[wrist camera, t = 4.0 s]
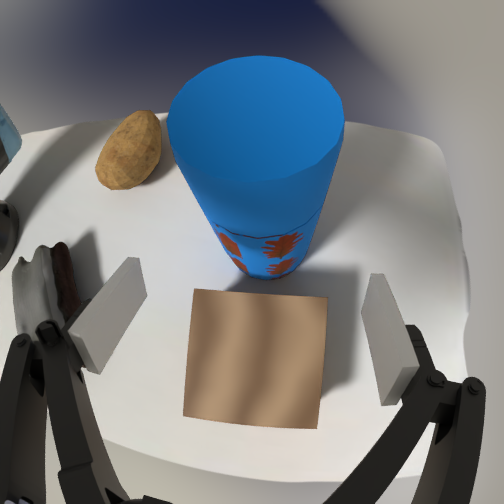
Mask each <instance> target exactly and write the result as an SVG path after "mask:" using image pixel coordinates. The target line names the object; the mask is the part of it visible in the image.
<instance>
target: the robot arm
mask: <svg viewBox="0 0 504 504" xmlns="http://www.w3.org/2000/svg"><path fill="white" fill-rule="evenodd" d="M21 145H22V138H21V136H20V134H19V132H18V130H17V129H16V127H15V125H14V124H13V122H12V121H11V119H10V117H9V116H8V114H7V113H6V111H5V110H4V108H3V107H2V106H1V104H0V174H1V173H2V172H3V170H4V169H5V168H6V167H7V166H8V164H9V163H11V161H12V159H13V157H14V156H15V155H16V154H17V152H18V151H19V150H20V148H21ZM18 226H19V221H18V214H17V211H16V209H15V208H14V207H13V206H12V205H10V204H9V203H7V202H5V201H2V200H0V270H2V268H3V267H4V266H5V265H6V263H7V262H8V260H9V258H10V256H11V254H12V252H13V249H14V247H15V243H16V240H17V235H18ZM146 297H147V293H146V288H145V284H144V279H143V274H142V270H141V265H140V260H139V258H134V257H128V258H127V259H126V260H125V261H124V262H123V263H122V265H121V266H120V267H119V268H118V269H117V270H116V272H115V273H114V274H113V275H112V276H111V278H110V279H109V280H108V281H107V282H106V284H105V285H104V286H103V287H102V288H101V290H100V291H99V292H98V293H97V294H96V296H95V297H94V298H93V299H88V300H86V301H85V302H83V303H82V304H81V305H80V306H79V307H78V309H77V311H75V312H74V314H73V316H71V317H70V319H69V320H68V321H67V322H66V324H65V325H64V326H63V328H62V329H60V327H59V325H58V323H57V321H55V320H52V319H49V320H45V321H43V322H41V323H40V324H39V325H38V326H37V327H36V329H35V333H36V335H37V337H38V339H39V341H33V340H32V339H31V337H30V335H29V334H27V333H22V334H19V335H17V336H16V337H15V338H14V339H13V340H12V342H11V345H10V348H9V352H8V355H7V358H6V362H5V366H4V369H3V373H2V377H1V381H0V504H46V484H45V437H46V419H47V407H48V409H49V415H50V421H51V426H52V431H53V435H54V440H55V445H56V449H57V453H58V457H59V461H60V465H61V470H60V471H59V472H58V479H59V483H60V486H61V489H62V493H63V495H64V499H65V502H66V504H172V503H170V502H167V501H163V500H159V499H156V498H153V497H149V496H146V495H144V496H143V499H132V500H130V498H129V496H128V495H127V493H126V492H125V490H124V489H123V488H122V486H121V484H120V483H119V480H118V478H117V476H116V474H115V471H114V469H113V466H112V464H111V461H110V459H109V456H108V454H107V451H106V449H105V446H104V443H103V440H102V437H101V434H100V431H99V428H98V425H97V422H96V419H95V416H94V412H93V409H92V406H91V402H90V399H89V395H88V391H87V388H86V384H85V380H84V376H83V372H82V370H81V367H82V366H83V364H84V365H85V367H86V368H87V370H88V371H89V372H93V373H96V374H99V375H100V374H101V372H102V370H103V369H104V367H105V365H106V363H107V362H108V360H109V358H110V356H111V355H112V353H113V351H114V349H115V348H116V346H117V344H118V343H119V341H120V339H121V338H122V336H123V334H124V333H125V331H126V329H127V328H128V326H129V324H130V323H131V321H132V319H133V318H134V316H135V315H136V313H137V311H138V310H139V308H140V307H141V305H142V303H143V302H144V300H145V299H146ZM361 314H362V318H363V322H364V327H365V331H366V335H367V339H368V343H369V348H370V352H371V357H372V361H373V366H374V371H375V376H376V381H377V386H378V391H379V396H380V402H381V406H388V405H397V403H398V402H399V400H400V399H402V403H403V405H402V407H401V408H400V410H399V411H398V413H397V414H396V416H395V417H394V419H393V420H392V422H391V423H390V424H389V426H388V427H387V429H386V430H385V431H384V433H383V434H382V435H381V437H380V438H379V439H378V441H377V442H376V443H375V445H374V446H373V447H372V449H371V450H370V451H369V452H368V454H367V455H366V456H365V457H364V459H363V460H362V461H361V462H360V463H359V465H358V466H357V467H356V468H355V469H354V470H353V472H352V473H351V474H350V475H349V476H348V477H347V478H346V479H345V481H344V482H343V483H342V484H341V485H340V486H339V487H338V488H337V489H336V490H335V492H333V493H332V495H331V496H330V497H329V498H328V499H327V500H326V501H325V502H324V503H323V504H375V502H376V501H377V500H378V499H379V498H380V496H381V495H382V494H383V492H384V491H385V490H386V489H387V487H388V486H389V485H390V483H391V482H392V480H393V479H394V478H395V476H396V475H397V473H398V472H399V470H400V469H401V468H402V466H403V465H404V463H405V462H406V460H407V459H408V457H409V455H410V454H411V452H412V451H413V449H414V447H415V446H416V444H417V443H418V441H419V439H420V437H421V436H422V434H423V432H424V431H425V429H426V427H427V425H428V423H429V422H432V423H436V425H435V429H434V433H433V437H432V441H431V445H430V448H429V452H428V456H427V459H426V462H425V466H424V469H423V472H422V475H421V478H420V481H419V484H418V487H417V490H416V492H415V495H414V498H413V500H412V503H411V504H469V503H470V498H471V495H472V491H473V486H474V481H475V477H476V473H477V467H478V462H479V456H480V449H481V442H482V434H483V426H484V415H485V399H486V398H485V397H486V389H485V386H484V384H483V383H482V382H481V381H480V380H479V379H477V378H475V377H469V378H466V379H465V380H464V381H463V383H462V384H461V383H456V382H451V381H448V380H447V378H446V377H445V375H444V374H443V373H441V372H440V371H438V370H436V369H435V366H434V364H433V361H432V358H431V356H430V353H429V351H428V348H427V345H426V343H425V341H424V338H423V336H422V333H421V331H420V330H419V329H418V328H417V327H416V326H415V325H405V324H404V321H403V319H402V316H401V314H400V311H399V309H398V306H397V304H396V301H395V299H394V296H393V294H392V292H391V289H390V287H389V285H388V282H387V280H386V278H385V275H384V274H372V273H371V276H370V280H369V284H368V288H367V292H366V296H365V300H364V304H363V307H362V311H361Z"/></svg>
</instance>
